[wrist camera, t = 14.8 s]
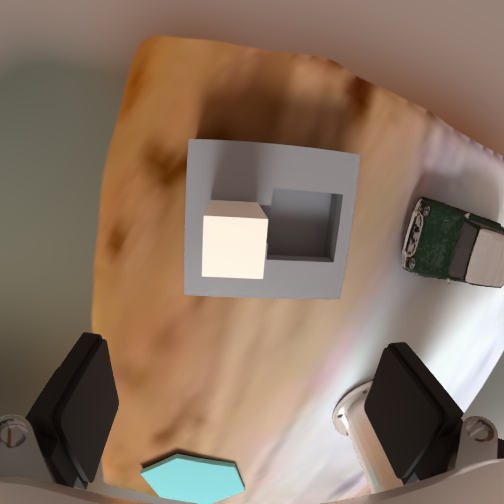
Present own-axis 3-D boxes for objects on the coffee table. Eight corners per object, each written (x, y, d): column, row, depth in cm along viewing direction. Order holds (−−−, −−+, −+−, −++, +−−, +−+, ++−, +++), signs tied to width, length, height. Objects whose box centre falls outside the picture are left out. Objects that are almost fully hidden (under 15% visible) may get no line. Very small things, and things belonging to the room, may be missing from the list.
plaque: (260, 461, 47) (149, 441, 43) (262, 470, 45) (147, 450, 41) (229, 500, 51) (136, 484, 47) (230, 507, 49) (135, 491, 45)
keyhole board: (339, 154, 31) (360, 154, 26) (324, 278, 36) (339, 299, 30) (195, 141, 30) (188, 138, 25) (190, 273, 34) (184, 294, 29)
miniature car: (407, 191, 33) (448, 203, 26) (496, 222, 36) (533, 236, 28) (389, 263, 36) (423, 289, 28) (479, 279, 38) (513, 300, 31)
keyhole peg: (258, 190, 30) (276, 211, 20) (254, 240, 32) (269, 286, 21) (207, 187, 30) (195, 207, 19) (205, 237, 32) (194, 283, 21)
